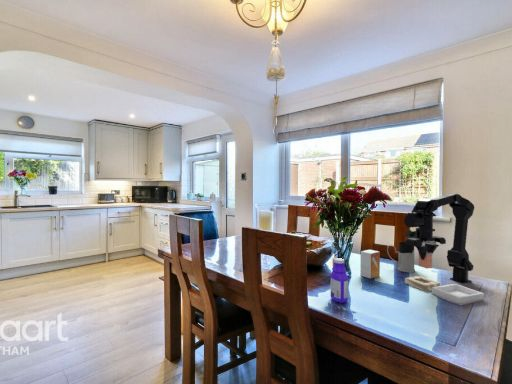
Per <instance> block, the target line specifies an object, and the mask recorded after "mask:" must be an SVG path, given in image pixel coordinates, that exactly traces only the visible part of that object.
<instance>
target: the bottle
mask: <svg viewBox="0 0 512 384" xmlns="http://www.w3.org/2000/svg"><path fill="white" fill-rule="evenodd" d="M342 258H343V257H342ZM342 258H335V259H334V266H333V265H332V269H331V270H332V272H331V273H330V298H331V300H333V301H334V302H336V303H338V302H339V303H338V304H343V303H347V302H348V300H349V298H348V297H349V277H348V274H347V268H346V266H345V265H346V263H345V258H343V259H342Z"/></svg>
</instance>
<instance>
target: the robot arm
mask: <svg viewBox="0 0 512 384" xmlns="http://www.w3.org/2000/svg"><path fill="white" fill-rule="evenodd" d="M446 205H448V207H450V208H451V210H452V214H453V216H454V218H455V221H454V222H455V224H454V233H453V243H452V247H451V248H450V249H448V250H447V252H446V253H447V255H446V259H447V263H448V266H449V267H452V277H450V278H449V280H452V281H454V282H455V281H456V282H459V283H461V284H464V283H466V284H467V283H471V282H472V279H471V280H470V279H469V272H472V271H473V270H474V265H473V263H472V262H471V260H470V257H469V256H470V254H469V253H468V251H467V249H466V245H467V244H466V243H467V236H468V234H467V233H468V226H469V224H468V222H469V220H470V218H471V217H472V216H473V215H474V211H475V205H474V203H472V202H471V201H470V200H469V199H467V198H466V197H463V196H462V195H461V194H459V193H447V194H445V195H441V196H439V197H438V196H437V197H434V198H424V199H423V198H421V199H418V200H416V203H415V205H414V206H413V208H412V210H411V212H408V213H407V215H406V216H405V217H404V219H403V223H404V225H405V227H407V228H415V230H414V231H412V230H411V229H407V230H405V237H406V238H405V241H404V242H405V244H407V245H411V246H414V248H416V250H417V252H418V255H419V254H420V257H421V259H422V260H424V258H425V255H426V251H427V252H431V253H432V255H433V254H434V252H435V251H436V249H437V248H438V247H439V246H440V245H444V244H445V245H446V244H447V243H446V242H447V240H446V238H445V237H442V236H438V235H437V236H436V235H434V232H436V229H435V228H434V227H433V226H434V217H437V214H436V213H434V212H436V211H438V209H439V208H440V207H443V206H446ZM437 243H439V244H437Z"/></svg>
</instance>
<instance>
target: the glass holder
mask: <svg viewBox="0 0 512 384" xmlns="http://www.w3.org/2000/svg"><path fill="white" fill-rule="evenodd" d="M390 246H392V247H394V251H395V252H394V253H397V254H398V262H397V261H396V260H395V259H393V258H392V257H391V256H390V253H389V247H390ZM386 252H387V255H388V257H389V258H390V259H391V260H392V261H393V262H395V264H397V270H398V271H399V272H404V273H415V272H416V270H415V246H411V245H407V244H405V241H400V242H398V251H397V249H396V246H395V245H393V244H389V245H388V246H387V249H386Z"/></svg>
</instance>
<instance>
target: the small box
mask: <svg viewBox="0 0 512 384" xmlns="http://www.w3.org/2000/svg"><path fill="white" fill-rule="evenodd" d="M380 258H381V252H380V251H378V250H374V249H365V250H361V251H360V273H359V274H360V276H361V277H365V278H367V279H373V278H377V277H380V274H381V272H380V268H381V265H380V264H381V263H380V262H381V259H380Z"/></svg>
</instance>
